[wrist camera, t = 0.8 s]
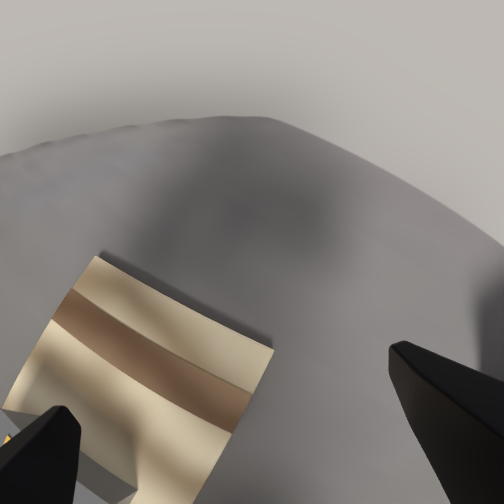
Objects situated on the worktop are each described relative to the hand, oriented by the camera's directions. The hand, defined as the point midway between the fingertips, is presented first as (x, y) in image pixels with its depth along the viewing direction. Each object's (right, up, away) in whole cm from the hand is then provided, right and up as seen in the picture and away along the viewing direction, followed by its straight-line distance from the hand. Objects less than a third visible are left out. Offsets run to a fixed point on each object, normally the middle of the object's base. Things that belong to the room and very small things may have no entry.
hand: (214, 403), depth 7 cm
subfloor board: (-9, -8, +11) cm, 17 cm away
